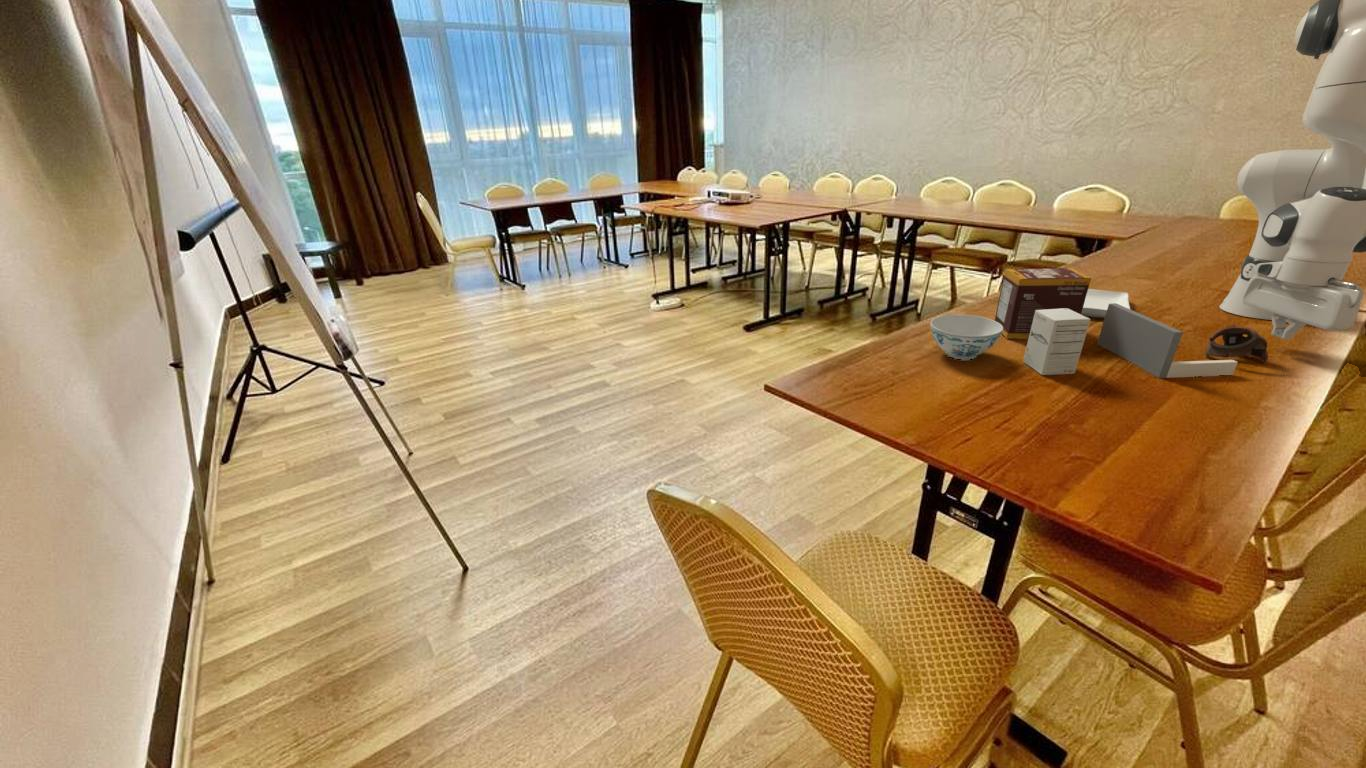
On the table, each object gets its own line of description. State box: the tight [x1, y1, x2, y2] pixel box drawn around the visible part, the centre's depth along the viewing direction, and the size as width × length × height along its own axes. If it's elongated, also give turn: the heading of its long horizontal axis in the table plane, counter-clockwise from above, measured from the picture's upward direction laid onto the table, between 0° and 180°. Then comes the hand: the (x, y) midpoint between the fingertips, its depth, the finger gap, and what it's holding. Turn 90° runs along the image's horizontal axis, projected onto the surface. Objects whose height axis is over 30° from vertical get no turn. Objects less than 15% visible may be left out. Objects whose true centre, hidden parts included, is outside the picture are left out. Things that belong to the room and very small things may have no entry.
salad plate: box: [1081, 288, 1132, 319], centre depth 147 cm, size 21×21×3 cm
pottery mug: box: [1204, 324, 1269, 364], centre depth 112 cm, size 12×10×8 cm
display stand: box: [1096, 303, 1238, 379], centre depth 113 cm, size 14×19×10 cm
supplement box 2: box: [1022, 308, 1092, 376], centre depth 112 cm, size 7×7×13 cm
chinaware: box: [930, 314, 1003, 361], centre depth 122 cm, size 15×15×8 cm
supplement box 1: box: [994, 267, 1092, 340], centre depth 130 cm, size 10×15×16 cm
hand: (1281, 337), depth 111 cm, fingers closed
